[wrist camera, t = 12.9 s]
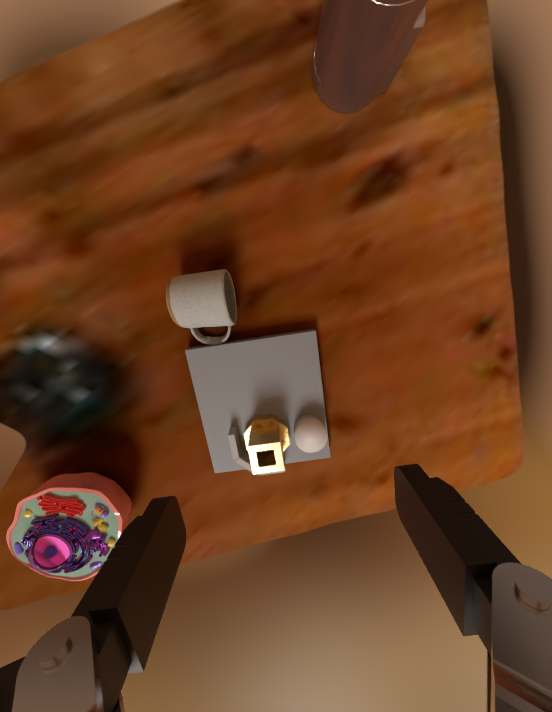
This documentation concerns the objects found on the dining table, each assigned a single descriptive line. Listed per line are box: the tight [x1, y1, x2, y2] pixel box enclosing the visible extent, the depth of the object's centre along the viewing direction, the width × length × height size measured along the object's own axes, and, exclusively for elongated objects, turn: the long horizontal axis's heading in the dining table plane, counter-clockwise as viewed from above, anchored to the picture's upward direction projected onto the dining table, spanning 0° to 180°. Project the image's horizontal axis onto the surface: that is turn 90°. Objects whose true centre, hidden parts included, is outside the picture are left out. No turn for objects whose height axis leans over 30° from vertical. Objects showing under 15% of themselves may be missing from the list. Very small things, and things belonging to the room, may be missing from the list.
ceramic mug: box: [166, 269, 237, 345], centre depth 38 cm, size 11×8×8 cm
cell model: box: [6, 472, 132, 581], centre depth 45 cm, size 17×20×11 cm
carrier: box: [185, 329, 330, 475], centre depth 43 cm, size 20×22×6 cm
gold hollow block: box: [244, 414, 290, 474], centre depth 42 cm, size 7×7×6 cm
